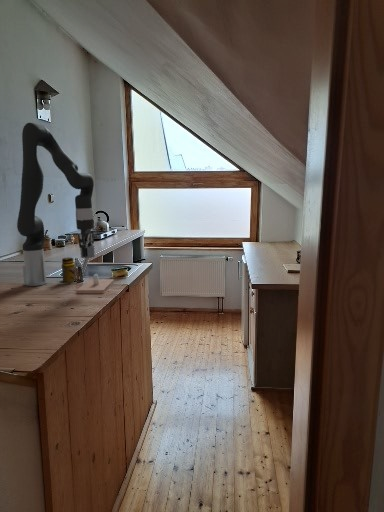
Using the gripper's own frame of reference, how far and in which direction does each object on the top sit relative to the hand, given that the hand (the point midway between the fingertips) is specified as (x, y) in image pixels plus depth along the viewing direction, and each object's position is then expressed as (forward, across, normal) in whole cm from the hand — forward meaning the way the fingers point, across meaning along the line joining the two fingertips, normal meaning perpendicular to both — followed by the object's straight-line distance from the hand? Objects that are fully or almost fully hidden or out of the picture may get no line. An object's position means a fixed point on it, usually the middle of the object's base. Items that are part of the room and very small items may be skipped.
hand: (87, 255), depth 164 cm
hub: (+1, 0, 0) cm, 1 cm away
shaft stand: (+16, -2, +2) cm, 16 cm away
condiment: (+16, -13, -16) cm, 26 cm away
